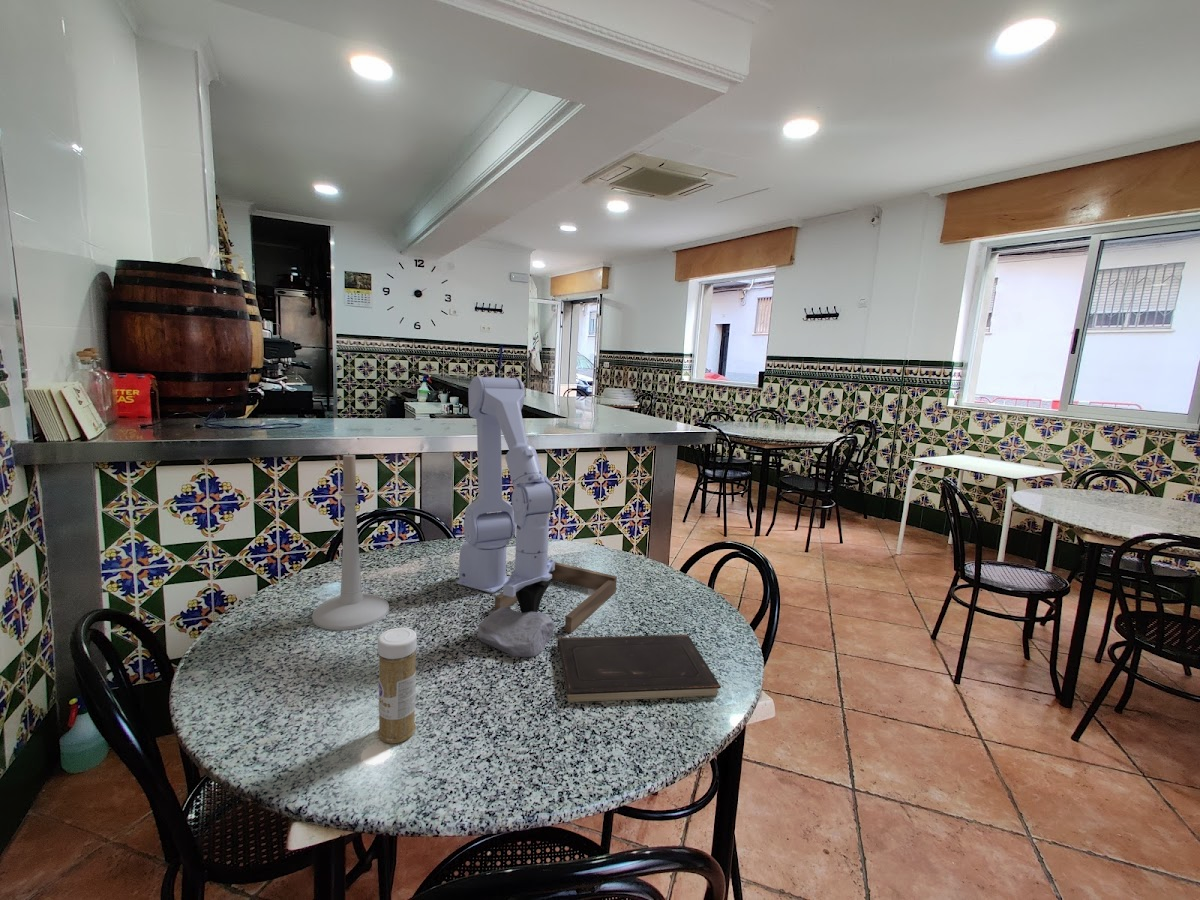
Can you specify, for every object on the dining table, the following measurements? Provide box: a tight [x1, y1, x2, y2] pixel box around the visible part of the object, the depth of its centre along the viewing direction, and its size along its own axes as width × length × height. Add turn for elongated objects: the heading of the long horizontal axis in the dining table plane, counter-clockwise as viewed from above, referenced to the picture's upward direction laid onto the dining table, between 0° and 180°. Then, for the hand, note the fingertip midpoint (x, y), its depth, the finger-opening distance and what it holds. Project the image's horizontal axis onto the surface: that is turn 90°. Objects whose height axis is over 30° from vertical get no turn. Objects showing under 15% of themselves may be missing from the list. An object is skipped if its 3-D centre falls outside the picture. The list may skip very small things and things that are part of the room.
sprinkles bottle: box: [377, 627, 418, 744], centre depth 68 cm, size 5×5×14 cm
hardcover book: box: [556, 634, 722, 703], centre depth 87 cm, size 16×23×2 cm
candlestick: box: [311, 452, 390, 631], centre depth 97 cm, size 13×13×30 cm
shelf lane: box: [494, 561, 618, 634], centre depth 109 cm, size 16×21×4 cm
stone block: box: [476, 607, 555, 658], centre depth 93 cm, size 12×5×10 cm
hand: (528, 619), depth 99 cm, fingers closed
